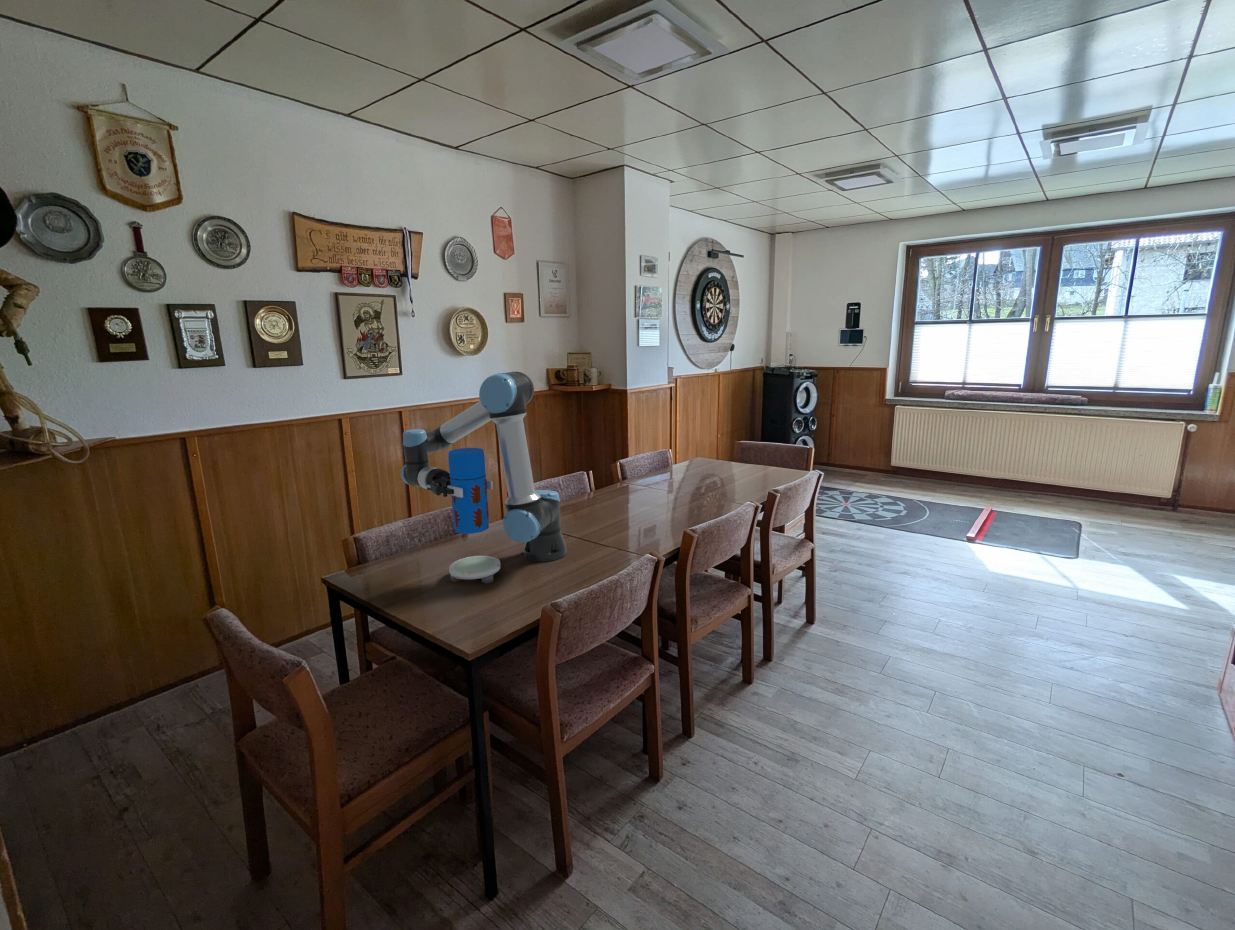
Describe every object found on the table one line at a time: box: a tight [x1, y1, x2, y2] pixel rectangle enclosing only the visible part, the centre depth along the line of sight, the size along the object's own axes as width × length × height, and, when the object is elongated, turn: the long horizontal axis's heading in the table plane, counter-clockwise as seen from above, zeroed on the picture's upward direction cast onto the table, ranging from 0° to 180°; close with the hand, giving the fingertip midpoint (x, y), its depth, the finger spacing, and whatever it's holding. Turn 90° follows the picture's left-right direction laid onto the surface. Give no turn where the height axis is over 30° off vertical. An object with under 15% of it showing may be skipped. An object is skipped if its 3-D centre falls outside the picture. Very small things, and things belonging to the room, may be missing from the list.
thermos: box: [447, 447, 490, 535], centre depth 179 cm, size 11×11×25 cm
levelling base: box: [448, 555, 501, 584], centre depth 184 cm, size 16×16×4 cm
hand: (477, 488), depth 176 cm, fingers closed on thermos, 11 cm apart
